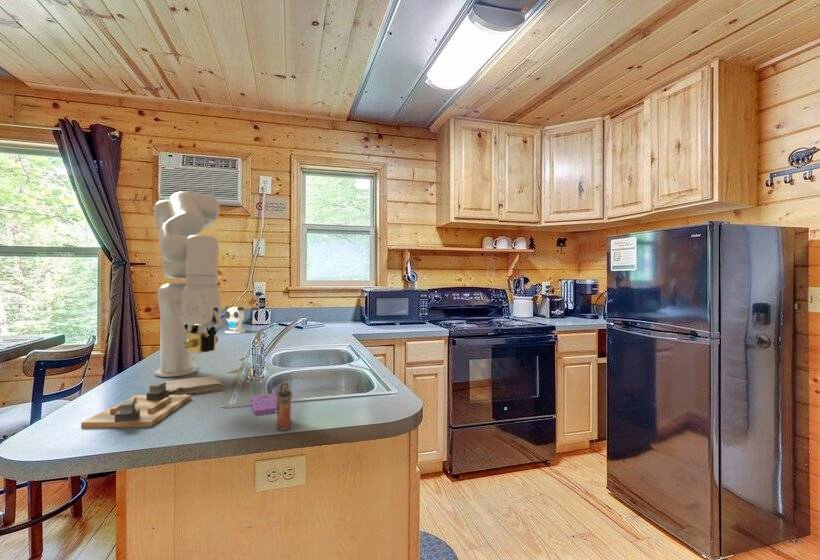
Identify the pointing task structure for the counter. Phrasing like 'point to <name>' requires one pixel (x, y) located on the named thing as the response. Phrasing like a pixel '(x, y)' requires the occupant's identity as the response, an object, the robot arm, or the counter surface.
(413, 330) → the counter surface
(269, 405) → the sponges
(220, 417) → the counter surface
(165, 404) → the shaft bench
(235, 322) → the panda figurine
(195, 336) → the coupler
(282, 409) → the amber flat bottle
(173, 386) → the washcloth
